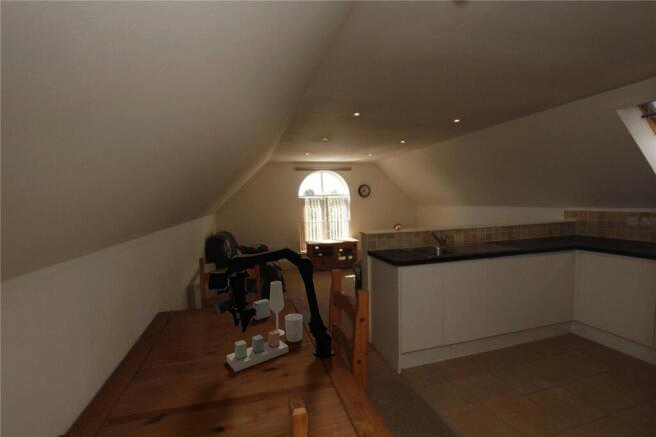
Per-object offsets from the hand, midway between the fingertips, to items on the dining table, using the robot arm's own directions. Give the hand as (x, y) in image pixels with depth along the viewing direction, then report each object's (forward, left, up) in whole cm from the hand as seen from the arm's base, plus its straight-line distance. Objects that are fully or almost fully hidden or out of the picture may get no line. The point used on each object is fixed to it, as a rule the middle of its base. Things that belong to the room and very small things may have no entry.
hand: (240, 329), depth 111 cm
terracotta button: (0, -14, -10) cm, 17 cm away
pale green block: (0, 0, -10) cm, 10 cm away
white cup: (+4, -26, -13) cm, 29 cm away
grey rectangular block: (0, -7, -10) cm, 12 cm away
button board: (0, -7, -13) cm, 15 cm away
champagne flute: (+14, -23, -13) cm, 30 cm away
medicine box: (+37, -26, -13) cm, 47 cm away
